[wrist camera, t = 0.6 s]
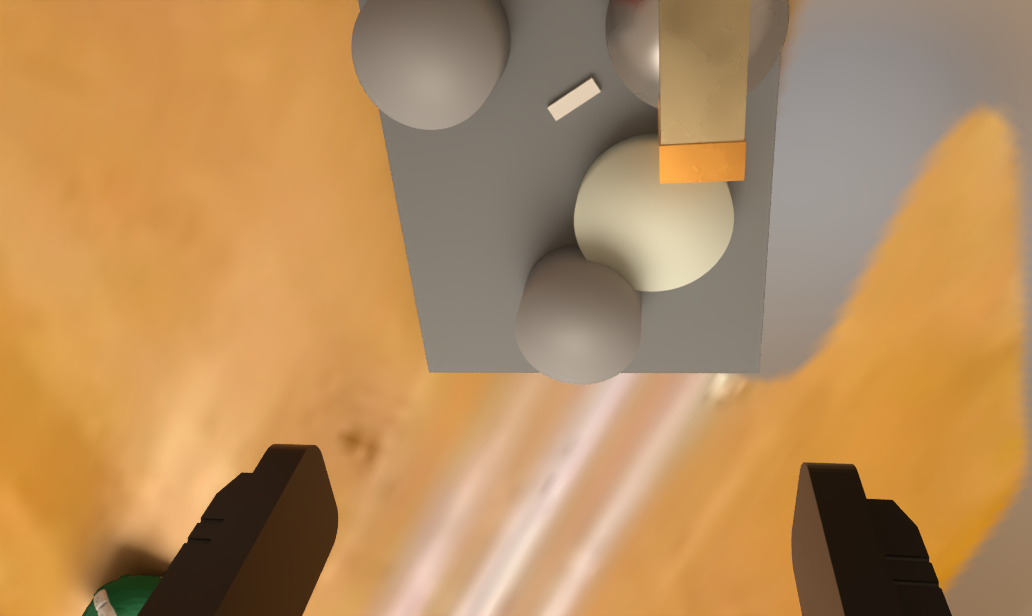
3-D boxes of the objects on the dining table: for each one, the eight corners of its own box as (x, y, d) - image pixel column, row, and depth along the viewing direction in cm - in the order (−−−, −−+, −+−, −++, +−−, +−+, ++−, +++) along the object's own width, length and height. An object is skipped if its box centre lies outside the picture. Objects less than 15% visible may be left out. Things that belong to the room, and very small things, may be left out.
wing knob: (602, -84, 26) (589, -67, 20) (791, -103, 25) (829, -91, 19) (610, 126, 29) (602, 186, 24) (777, 117, 28) (805, 177, 23)
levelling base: (356, -108, 28) (305, -101, 24) (785, -157, 26) (811, -159, 21) (438, 349, 38) (412, 411, 34) (754, 348, 36) (768, 415, 31)
